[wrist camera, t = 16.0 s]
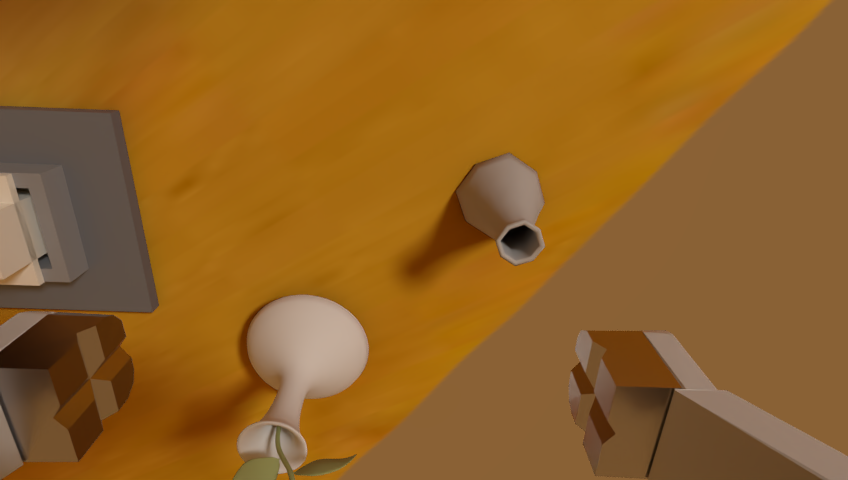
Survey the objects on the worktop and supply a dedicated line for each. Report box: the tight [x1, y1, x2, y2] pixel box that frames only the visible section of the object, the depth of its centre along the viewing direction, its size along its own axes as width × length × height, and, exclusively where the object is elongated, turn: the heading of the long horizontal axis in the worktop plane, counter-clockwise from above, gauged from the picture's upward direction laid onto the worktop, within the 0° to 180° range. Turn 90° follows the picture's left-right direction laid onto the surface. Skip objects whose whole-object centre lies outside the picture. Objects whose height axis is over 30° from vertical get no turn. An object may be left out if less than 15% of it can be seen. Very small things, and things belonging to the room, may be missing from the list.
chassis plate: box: [0, 106, 159, 312], centre depth 42 cm, size 18×18×4 cm
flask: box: [456, 153, 545, 266], centre depth 38 cm, size 7×7×10 cm
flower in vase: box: [233, 295, 369, 480], centre depth 37 cm, size 13×11×25 cm
